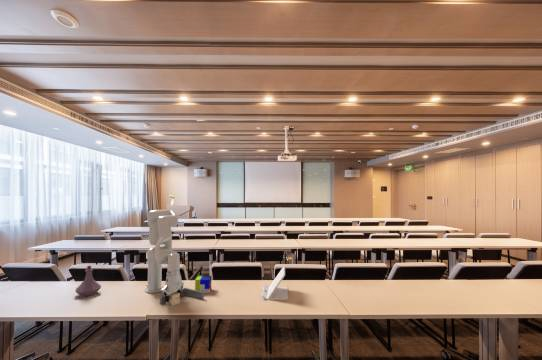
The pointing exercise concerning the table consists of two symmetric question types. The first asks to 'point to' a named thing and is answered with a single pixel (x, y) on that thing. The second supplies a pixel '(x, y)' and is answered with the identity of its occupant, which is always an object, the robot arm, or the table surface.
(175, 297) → the birch block
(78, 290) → the flask
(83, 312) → the table surface
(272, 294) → the tablet stand
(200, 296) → the arena
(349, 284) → the table surface
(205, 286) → the puzzle toy
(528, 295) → the table surface
